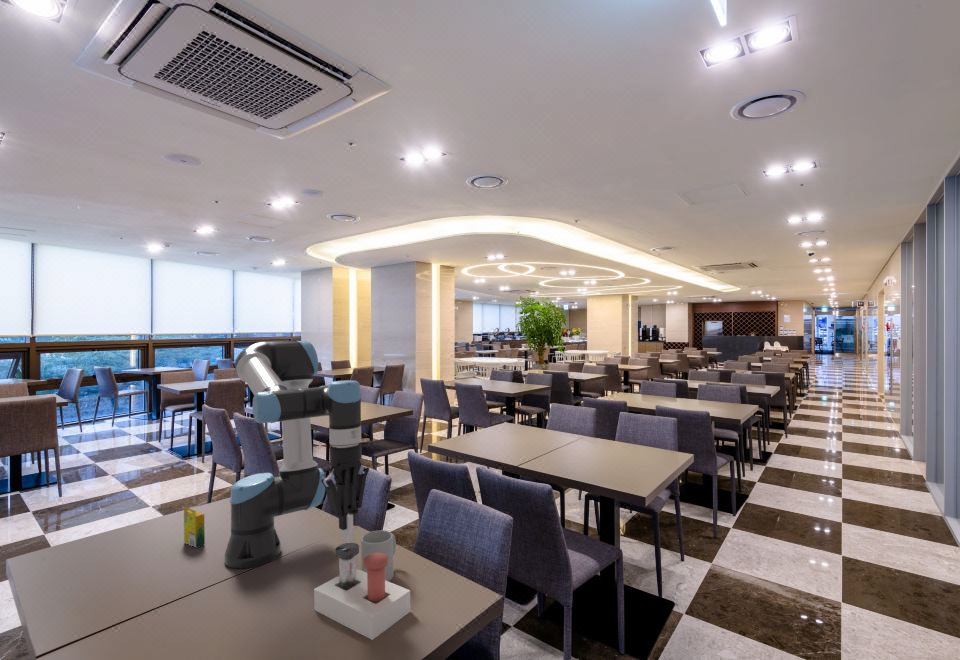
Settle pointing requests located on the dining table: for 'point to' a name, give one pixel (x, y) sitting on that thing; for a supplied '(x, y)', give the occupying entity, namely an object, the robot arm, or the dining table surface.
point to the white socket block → (362, 605)
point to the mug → (379, 549)
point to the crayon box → (193, 528)
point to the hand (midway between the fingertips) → (347, 540)
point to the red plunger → (376, 576)
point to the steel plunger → (347, 564)
